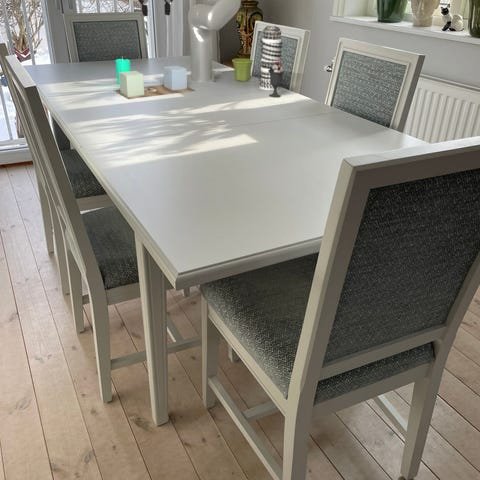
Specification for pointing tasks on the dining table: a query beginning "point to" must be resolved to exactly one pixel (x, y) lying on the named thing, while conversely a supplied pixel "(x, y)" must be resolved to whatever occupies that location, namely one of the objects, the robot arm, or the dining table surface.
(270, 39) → the decorative candle
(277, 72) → the sundae
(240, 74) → the plant pot
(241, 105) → the dining table surface
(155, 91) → the board
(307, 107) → the dining table surface
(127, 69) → the candle
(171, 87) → the blue cover
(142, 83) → the pale green block
